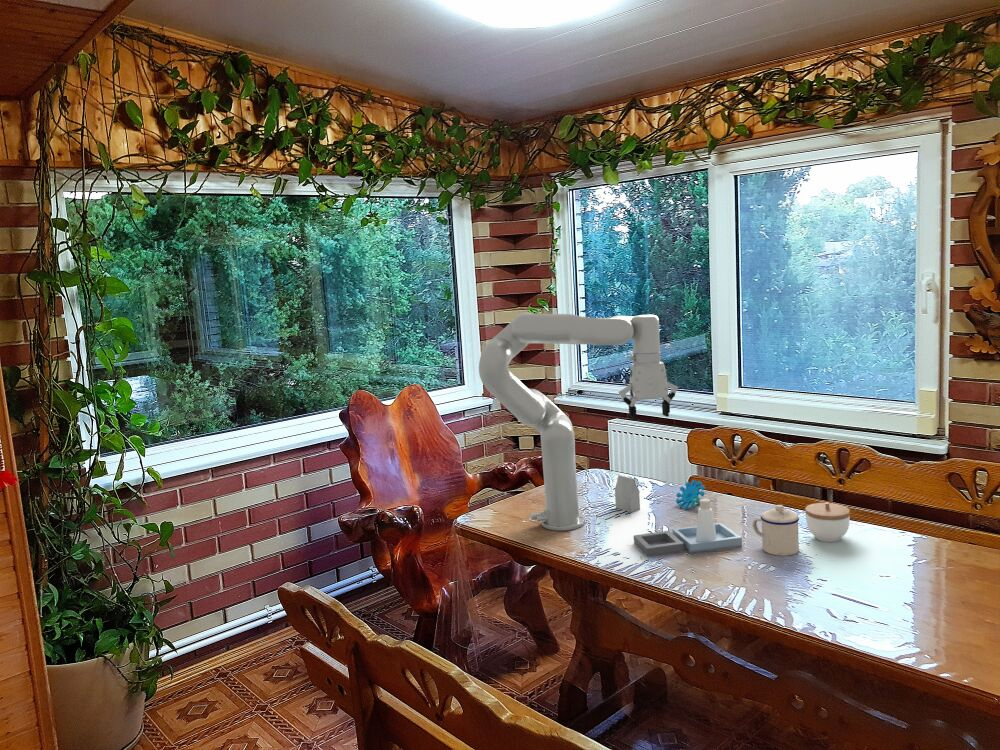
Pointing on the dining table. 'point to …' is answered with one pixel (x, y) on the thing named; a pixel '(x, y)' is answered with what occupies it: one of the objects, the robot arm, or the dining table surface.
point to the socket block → (671, 547)
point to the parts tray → (723, 541)
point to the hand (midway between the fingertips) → (649, 417)
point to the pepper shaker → (705, 522)
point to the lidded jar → (827, 521)
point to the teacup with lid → (778, 531)
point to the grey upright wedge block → (627, 494)
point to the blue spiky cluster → (690, 494)
